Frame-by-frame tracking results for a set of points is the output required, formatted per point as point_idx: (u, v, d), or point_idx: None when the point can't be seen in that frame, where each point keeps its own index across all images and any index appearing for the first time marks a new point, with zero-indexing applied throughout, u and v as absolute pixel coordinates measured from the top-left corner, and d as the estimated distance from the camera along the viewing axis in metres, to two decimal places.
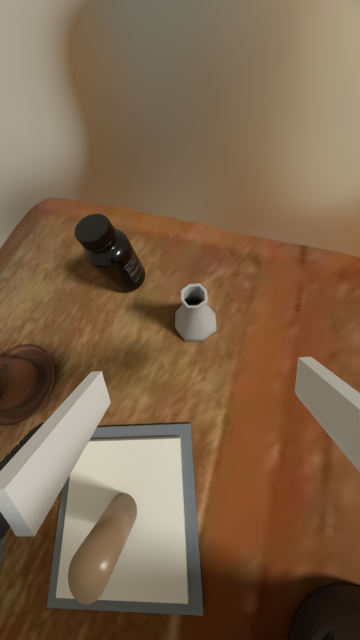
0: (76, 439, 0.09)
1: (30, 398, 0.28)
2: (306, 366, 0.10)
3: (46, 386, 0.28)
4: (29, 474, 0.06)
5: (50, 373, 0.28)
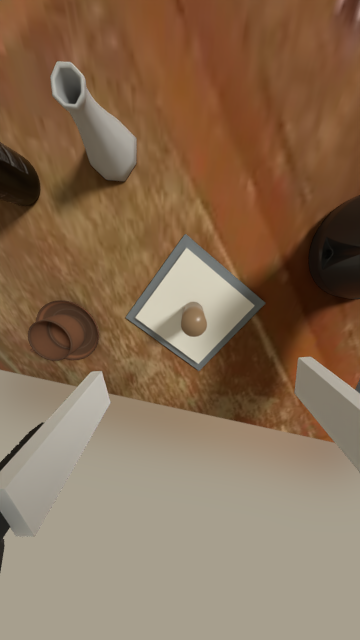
0: (76, 439, 0.09)
1: (87, 331, 0.34)
2: (306, 366, 0.10)
3: (84, 317, 0.33)
4: (29, 474, 0.06)
5: (76, 308, 0.32)
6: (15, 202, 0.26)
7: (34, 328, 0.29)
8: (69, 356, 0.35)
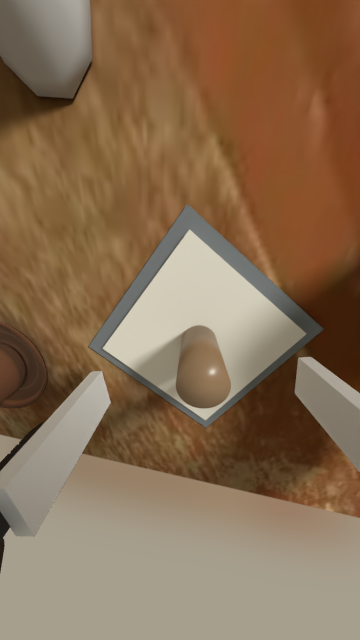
0: (76, 439, 0.09)
1: (30, 364, 0.22)
2: (306, 366, 0.10)
3: (23, 343, 0.20)
4: (29, 474, 0.06)
5: (9, 330, 0.20)
6: None
7: None
8: (4, 402, 0.22)
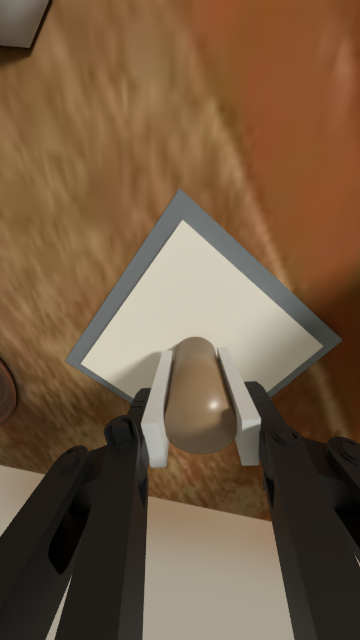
0: None
1: None
2: (219, 353, 0.13)
3: None
4: (162, 418, 0.08)
5: None
6: None
7: None
8: None
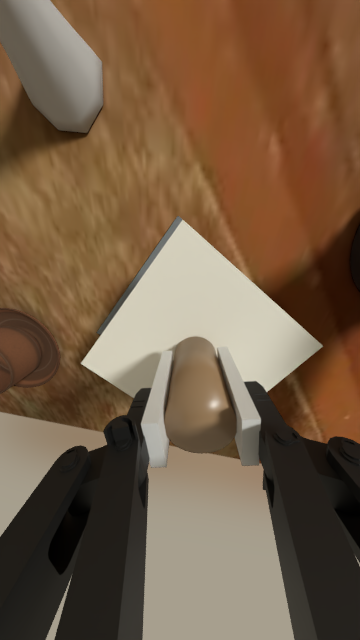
0: None
1: (44, 349, 0.25)
2: (219, 353, 0.13)
3: (39, 330, 0.24)
4: (162, 418, 0.08)
5: (27, 319, 0.23)
6: None
7: None
8: (21, 382, 0.26)
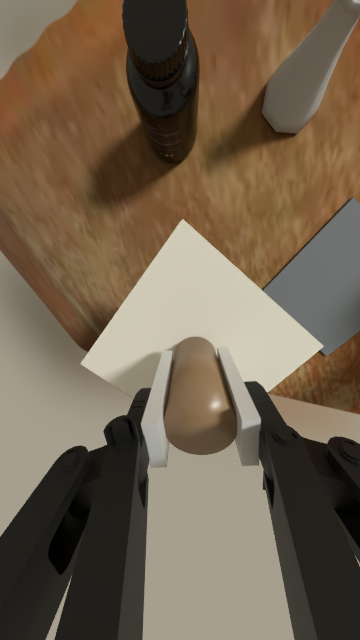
0: None
1: None
2: (219, 353, 0.13)
3: None
4: (162, 418, 0.08)
5: None
6: (172, 155, 0.23)
7: None
8: None
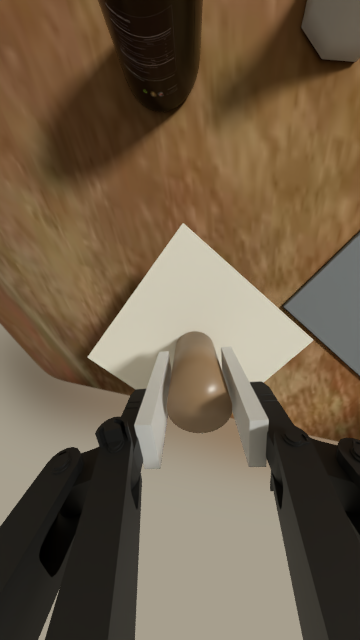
0: (165, 403, 0.11)
1: None
2: (223, 353, 0.12)
3: None
4: (155, 419, 0.08)
5: None
6: (161, 95, 0.14)
7: None
8: None
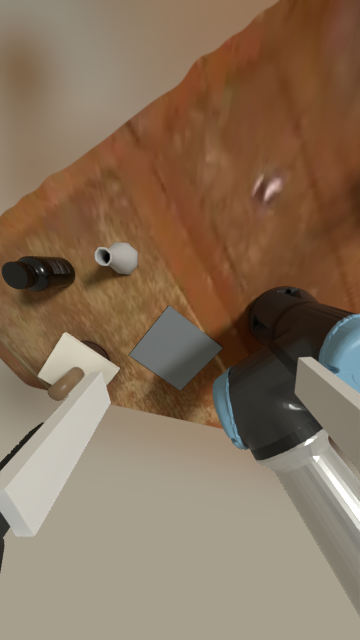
0: (76, 439, 0.09)
1: None
2: (306, 366, 0.10)
3: (101, 350, 0.47)
4: (29, 474, 0.06)
5: (95, 345, 0.47)
6: (60, 287, 0.41)
7: None
8: None
